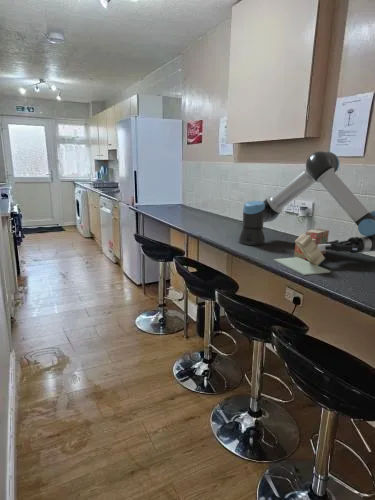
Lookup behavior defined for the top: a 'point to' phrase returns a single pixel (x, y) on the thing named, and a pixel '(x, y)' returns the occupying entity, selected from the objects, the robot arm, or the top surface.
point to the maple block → (309, 249)
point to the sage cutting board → (302, 266)
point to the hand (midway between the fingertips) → (318, 247)
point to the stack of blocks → (317, 236)
